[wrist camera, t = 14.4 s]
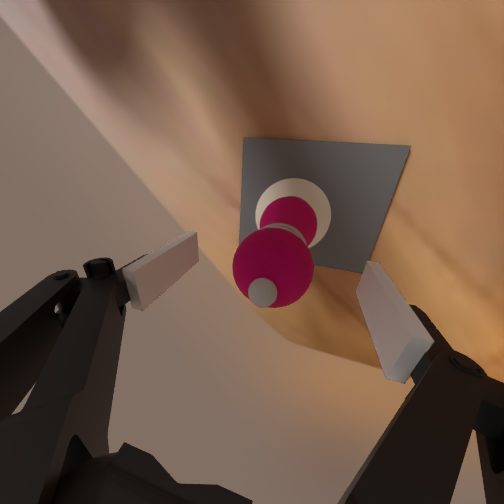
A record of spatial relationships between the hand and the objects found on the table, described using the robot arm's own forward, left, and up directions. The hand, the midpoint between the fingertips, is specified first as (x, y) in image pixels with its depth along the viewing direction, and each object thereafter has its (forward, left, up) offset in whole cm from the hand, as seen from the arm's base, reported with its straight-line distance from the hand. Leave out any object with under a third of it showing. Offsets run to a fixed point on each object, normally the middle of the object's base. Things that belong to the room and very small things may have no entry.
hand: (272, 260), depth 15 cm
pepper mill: (0, 0, -15) cm, 15 cm away
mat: (+2, +1, -16) cm, 16 cm away
